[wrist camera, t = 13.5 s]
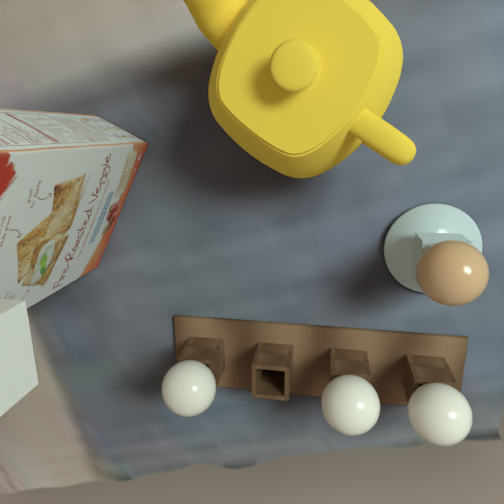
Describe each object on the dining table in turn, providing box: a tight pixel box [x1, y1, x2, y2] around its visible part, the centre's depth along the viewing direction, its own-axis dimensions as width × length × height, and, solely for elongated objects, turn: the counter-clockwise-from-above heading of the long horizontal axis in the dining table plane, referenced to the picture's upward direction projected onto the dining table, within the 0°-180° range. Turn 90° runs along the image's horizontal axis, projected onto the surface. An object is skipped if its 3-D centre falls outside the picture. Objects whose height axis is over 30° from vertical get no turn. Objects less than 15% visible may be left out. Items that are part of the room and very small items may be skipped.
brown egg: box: [416, 240, 489, 306], centre depth 31 cm, size 5×5×5 cm
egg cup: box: [384, 203, 482, 293], centre depth 36 cm, size 8×8×5 cm
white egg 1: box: [162, 360, 216, 417], centre depth 38 cm, size 5×5×5 cm
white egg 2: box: [321, 374, 380, 436], centre depth 36 cm, size 5×5×5 cm
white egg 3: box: [407, 382, 472, 446], centre depth 35 cm, size 5×5×5 cm
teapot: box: [184, 0, 416, 178], centre depth 30 cm, size 13×20×12 cm
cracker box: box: [0, 109, 148, 308], centre depth 32 cm, size 14×6×21 cm, turn 152°
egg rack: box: [174, 315, 468, 406], centre depth 41 cm, size 28×8×5 cm, turn 90°
